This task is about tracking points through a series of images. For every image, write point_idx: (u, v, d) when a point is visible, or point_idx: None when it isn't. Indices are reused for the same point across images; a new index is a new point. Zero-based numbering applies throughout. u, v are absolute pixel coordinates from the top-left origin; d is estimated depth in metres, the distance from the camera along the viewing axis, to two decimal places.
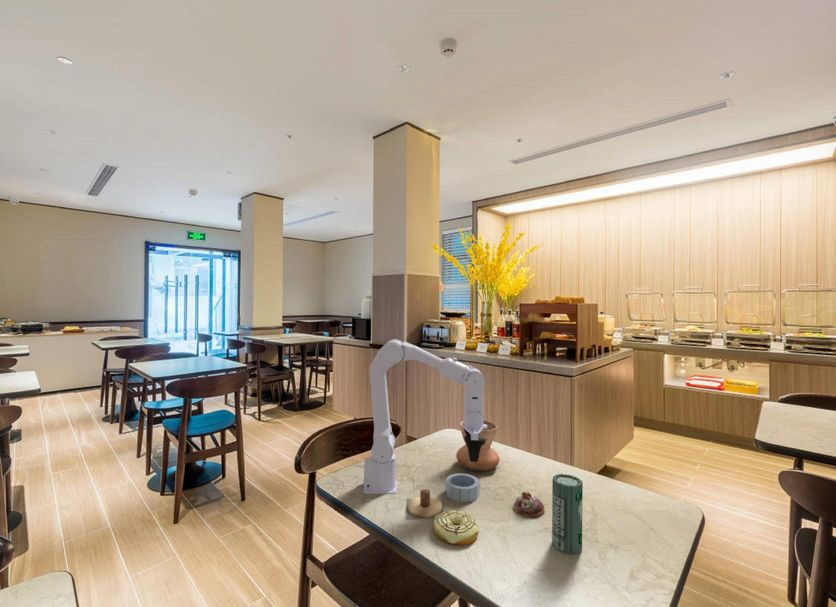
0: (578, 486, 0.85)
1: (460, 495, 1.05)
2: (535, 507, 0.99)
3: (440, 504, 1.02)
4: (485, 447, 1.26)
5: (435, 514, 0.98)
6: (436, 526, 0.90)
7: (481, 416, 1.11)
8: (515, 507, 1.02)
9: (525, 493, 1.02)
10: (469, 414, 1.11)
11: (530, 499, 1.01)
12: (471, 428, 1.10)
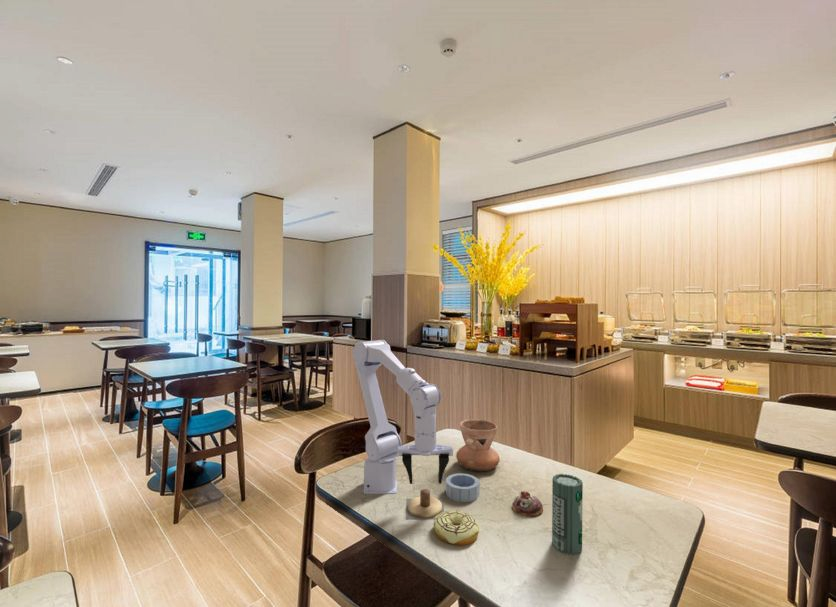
0: (578, 486, 0.85)
1: (460, 495, 1.05)
2: (533, 507, 1.00)
3: (440, 504, 1.02)
4: (485, 447, 1.26)
5: (435, 514, 0.98)
6: (436, 526, 0.90)
7: (419, 438, 1.00)
8: (514, 506, 1.02)
9: (524, 492, 1.02)
10: None
11: (529, 498, 1.01)
12: (414, 447, 1.03)
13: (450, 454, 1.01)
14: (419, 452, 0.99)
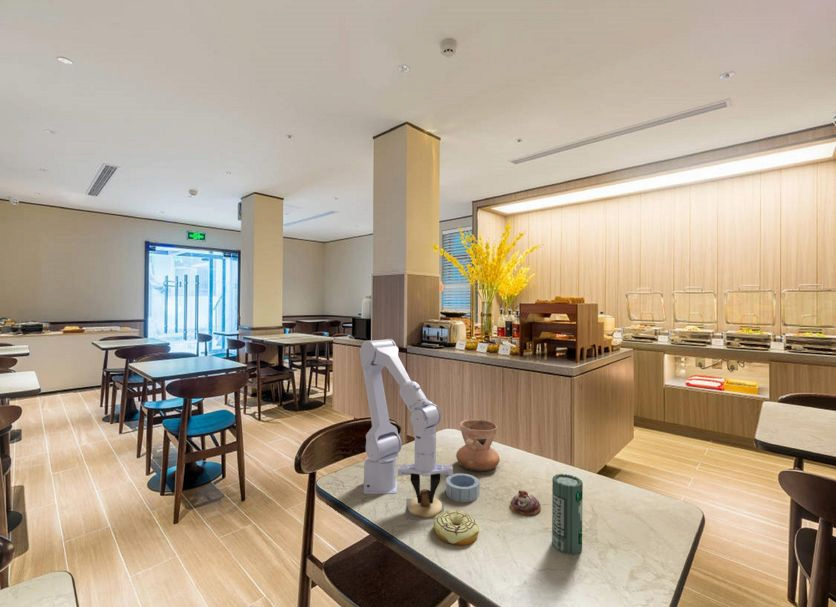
0: (578, 486, 0.85)
1: (460, 495, 1.05)
2: (531, 506, 1.00)
3: (440, 504, 1.02)
4: (485, 447, 1.26)
5: (435, 514, 0.98)
6: (436, 526, 0.90)
7: (419, 458, 1.00)
8: (512, 505, 1.03)
9: (521, 491, 1.03)
10: None
11: (526, 497, 1.01)
12: (414, 466, 1.03)
13: (450, 474, 1.01)
14: (419, 472, 0.99)
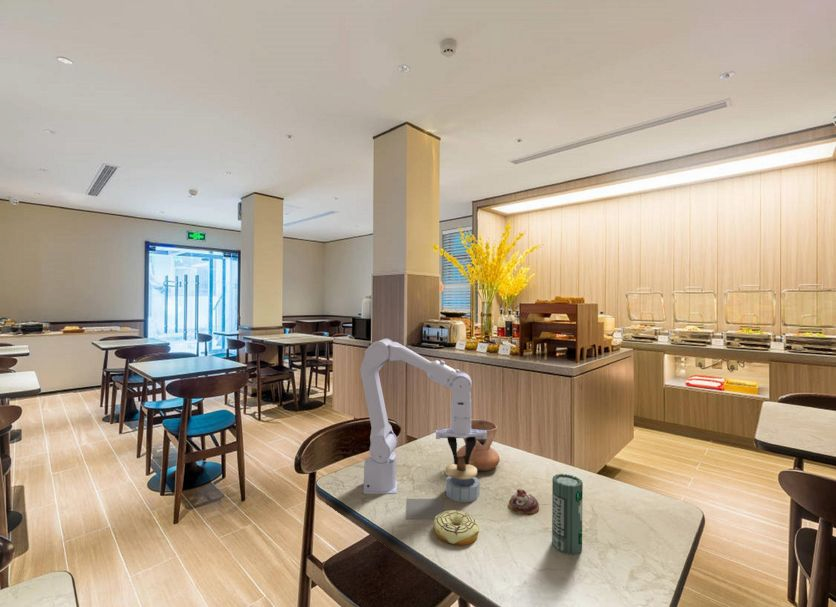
0: (578, 486, 0.85)
1: (460, 495, 1.05)
2: (529, 505, 1.01)
3: (475, 469, 1.09)
4: (485, 447, 1.26)
5: (471, 476, 1.05)
6: (436, 526, 0.90)
7: (456, 422, 1.07)
8: (510, 504, 1.03)
9: (520, 490, 1.03)
10: None
11: (525, 496, 1.02)
12: (450, 430, 1.10)
13: (484, 437, 1.09)
14: (456, 435, 1.07)
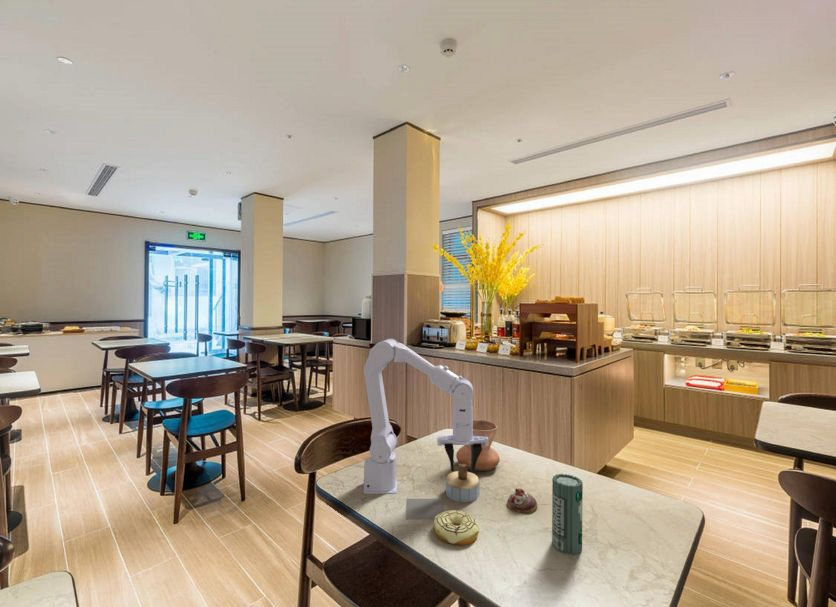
0: (578, 486, 0.85)
1: (460, 495, 1.05)
2: (527, 504, 1.01)
3: (477, 478, 1.09)
4: (485, 447, 1.26)
5: (472, 486, 1.06)
6: (436, 526, 0.90)
7: (457, 429, 1.08)
8: (508, 503, 1.04)
9: (518, 490, 1.04)
10: None
11: (523, 495, 1.02)
12: (452, 437, 1.11)
13: (486, 444, 1.09)
14: (458, 442, 1.07)
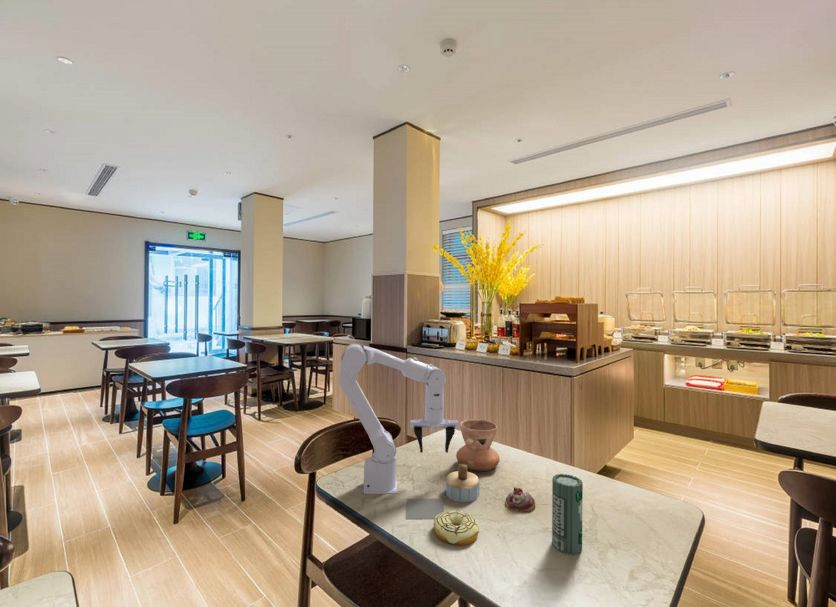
0: (578, 486, 0.85)
1: (460, 495, 1.05)
2: (525, 503, 1.02)
3: (477, 478, 1.09)
4: (485, 447, 1.26)
5: (472, 486, 1.06)
6: (436, 526, 0.90)
7: (428, 413, 1.15)
8: (506, 502, 1.04)
9: (516, 489, 1.04)
10: None
11: (521, 494, 1.03)
12: (424, 420, 1.17)
13: (456, 427, 1.16)
14: (429, 424, 1.14)
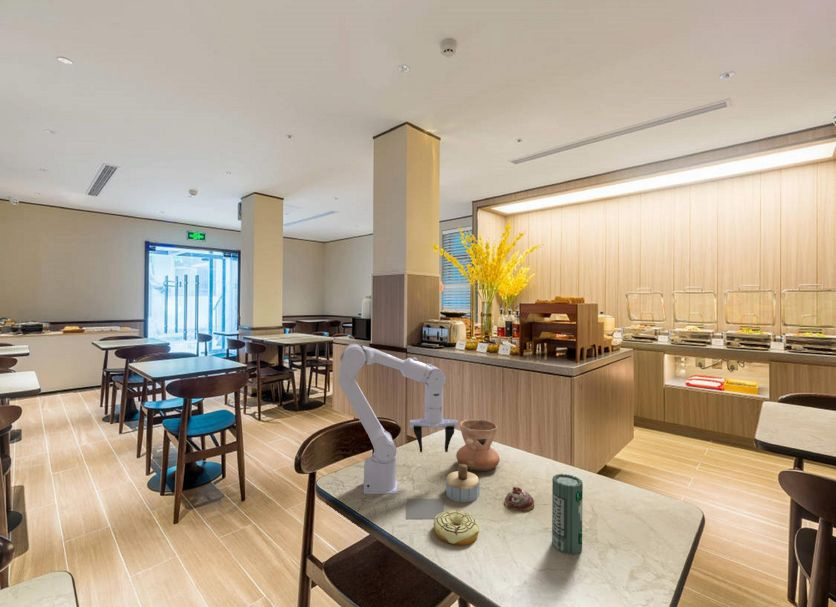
0: (578, 486, 0.85)
1: (460, 495, 1.05)
2: (524, 502, 1.02)
3: (477, 478, 1.09)
4: (485, 447, 1.26)
5: (472, 486, 1.06)
6: (436, 526, 0.90)
7: (428, 412, 1.15)
8: (506, 501, 1.05)
9: (515, 488, 1.05)
10: None
11: (520, 494, 1.03)
12: (424, 420, 1.18)
13: (455, 426, 1.16)
14: (428, 424, 1.14)
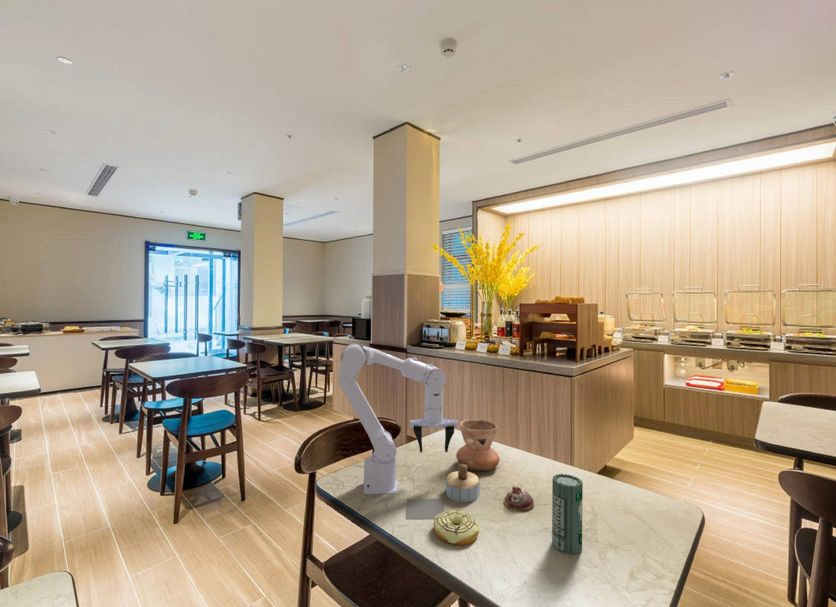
0: (578, 486, 0.85)
1: (460, 495, 1.05)
2: (524, 502, 1.02)
3: (477, 478, 1.09)
4: (485, 447, 1.26)
5: (472, 486, 1.06)
6: (436, 526, 0.90)
7: (428, 412, 1.15)
8: (505, 501, 1.05)
9: (515, 488, 1.05)
10: None
11: (520, 493, 1.03)
12: (424, 420, 1.18)
13: (455, 426, 1.16)
14: (428, 424, 1.14)
